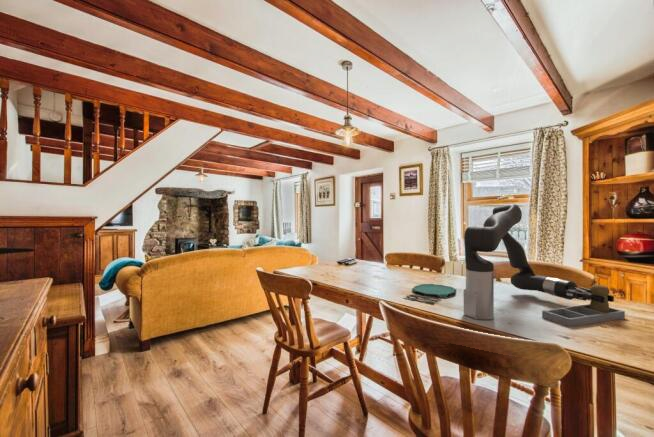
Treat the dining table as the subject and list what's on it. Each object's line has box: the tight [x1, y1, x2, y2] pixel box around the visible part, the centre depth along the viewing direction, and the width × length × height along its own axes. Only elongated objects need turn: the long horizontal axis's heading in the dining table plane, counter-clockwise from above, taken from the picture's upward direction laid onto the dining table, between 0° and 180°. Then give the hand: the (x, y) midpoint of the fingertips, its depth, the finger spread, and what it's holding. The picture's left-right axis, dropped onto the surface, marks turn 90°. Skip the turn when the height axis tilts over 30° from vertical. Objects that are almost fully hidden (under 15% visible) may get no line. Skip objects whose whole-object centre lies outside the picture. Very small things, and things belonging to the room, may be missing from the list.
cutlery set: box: [402, 283, 457, 305], centre depth 139 cm, size 20×30×2 cm, turn 137°
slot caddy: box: [541, 303, 626, 328], centre depth 107 cm, size 27×10×2 cm, turn 107°
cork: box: [589, 284, 611, 313], centre depth 109 cm, size 6×6×11 cm
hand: (608, 299), depth 106 cm, fingers closed on cork, 4 cm apart
